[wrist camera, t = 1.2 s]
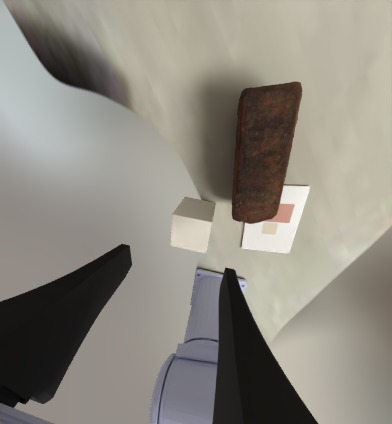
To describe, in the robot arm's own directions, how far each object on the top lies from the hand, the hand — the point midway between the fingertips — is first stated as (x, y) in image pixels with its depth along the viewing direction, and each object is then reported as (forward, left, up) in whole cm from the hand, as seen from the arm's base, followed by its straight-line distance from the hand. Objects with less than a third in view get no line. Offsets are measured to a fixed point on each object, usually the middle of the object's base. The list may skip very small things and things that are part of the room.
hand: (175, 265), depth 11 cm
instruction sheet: (0, -9, -10) cm, 13 cm away
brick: (+7, -5, -10) cm, 13 cm away
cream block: (-1, 0, -10) cm, 10 cm away
